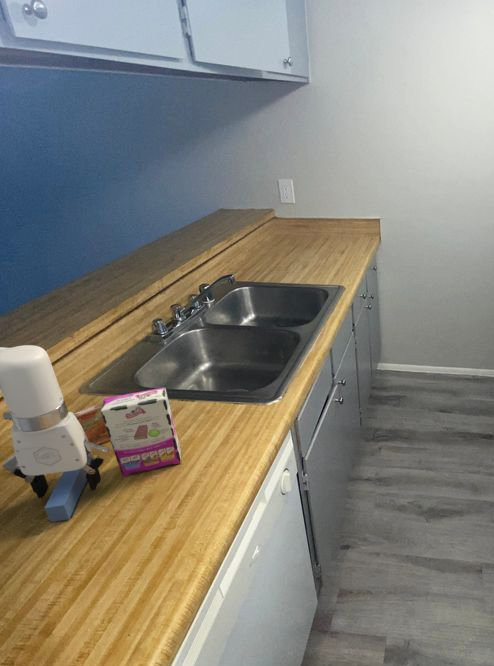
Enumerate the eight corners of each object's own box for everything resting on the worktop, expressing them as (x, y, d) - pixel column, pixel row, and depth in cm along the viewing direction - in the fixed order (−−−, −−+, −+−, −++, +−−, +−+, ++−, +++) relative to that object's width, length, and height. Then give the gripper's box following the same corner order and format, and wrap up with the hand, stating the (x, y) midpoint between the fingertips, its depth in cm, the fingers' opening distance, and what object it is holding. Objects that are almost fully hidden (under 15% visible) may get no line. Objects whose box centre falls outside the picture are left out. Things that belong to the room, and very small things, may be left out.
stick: (50, 522, 84) (44, 508, 83) (76, 469, 96) (71, 456, 94) (69, 519, 85) (63, 505, 83) (92, 467, 97) (88, 454, 95)
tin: (59, 461, 98) (46, 429, 94) (54, 454, 100) (42, 422, 96) (135, 430, 108) (126, 399, 104) (130, 424, 110) (121, 394, 106)
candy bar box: (181, 449, 103) (166, 385, 95) (181, 463, 99) (166, 398, 91) (123, 462, 99) (102, 396, 91) (121, 477, 95) (99, 410, 87)
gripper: (-30, 434, 77) (7, 512, 85) (91, 420, 81) (115, 496, 89) (-8, 408, 83) (25, 483, 91) (103, 397, 87) (125, 469, 95)
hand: (70, 489), depth 90 cm, fingers open, 8 cm apart
